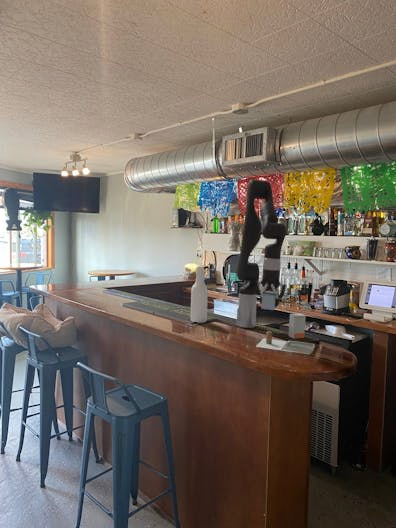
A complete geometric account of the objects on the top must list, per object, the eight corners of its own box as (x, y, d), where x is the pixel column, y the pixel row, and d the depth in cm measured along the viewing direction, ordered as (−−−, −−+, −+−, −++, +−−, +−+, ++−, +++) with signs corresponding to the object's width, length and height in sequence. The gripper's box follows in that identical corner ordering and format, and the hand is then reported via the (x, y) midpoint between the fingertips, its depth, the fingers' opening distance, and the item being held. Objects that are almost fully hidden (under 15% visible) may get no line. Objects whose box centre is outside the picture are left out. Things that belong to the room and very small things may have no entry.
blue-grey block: (261, 308, 176) (262, 293, 175) (264, 306, 181) (265, 291, 180) (273, 310, 173) (274, 294, 173) (276, 307, 179) (277, 292, 178)
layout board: (255, 350, 165) (256, 334, 165) (263, 341, 179) (264, 327, 179) (311, 358, 157) (312, 342, 156) (315, 348, 170) (316, 333, 170)
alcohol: (187, 321, 213) (189, 266, 211) (195, 318, 221) (197, 265, 218) (202, 324, 209) (204, 267, 207) (209, 320, 217) (211, 266, 214)
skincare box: (292, 341, 180) (294, 315, 179) (288, 339, 185) (289, 313, 184) (304, 341, 182) (306, 315, 181) (299, 338, 186) (301, 313, 185)
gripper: (289, 269, 176) (286, 306, 178) (257, 266, 181) (255, 302, 183) (286, 270, 169) (283, 309, 171) (253, 267, 175) (251, 305, 176)
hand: (269, 305), depth 177 cm, fingers closed on blue-grey block, 5 cm apart
